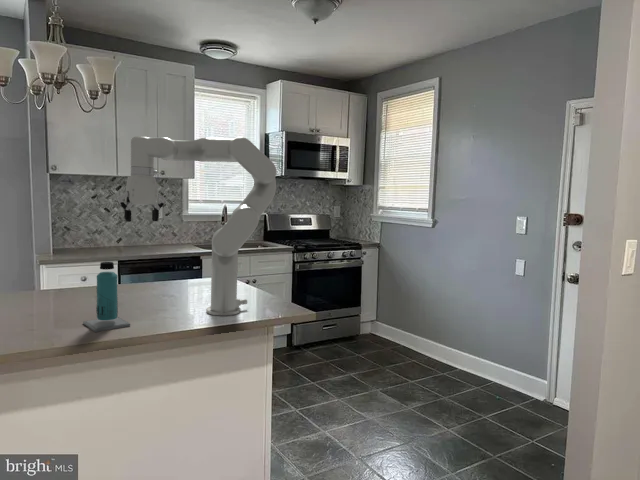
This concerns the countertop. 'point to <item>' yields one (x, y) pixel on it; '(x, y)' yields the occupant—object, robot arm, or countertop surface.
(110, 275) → the beverage bottle
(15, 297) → the countertop surface
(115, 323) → the plate
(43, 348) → the countertop surface
